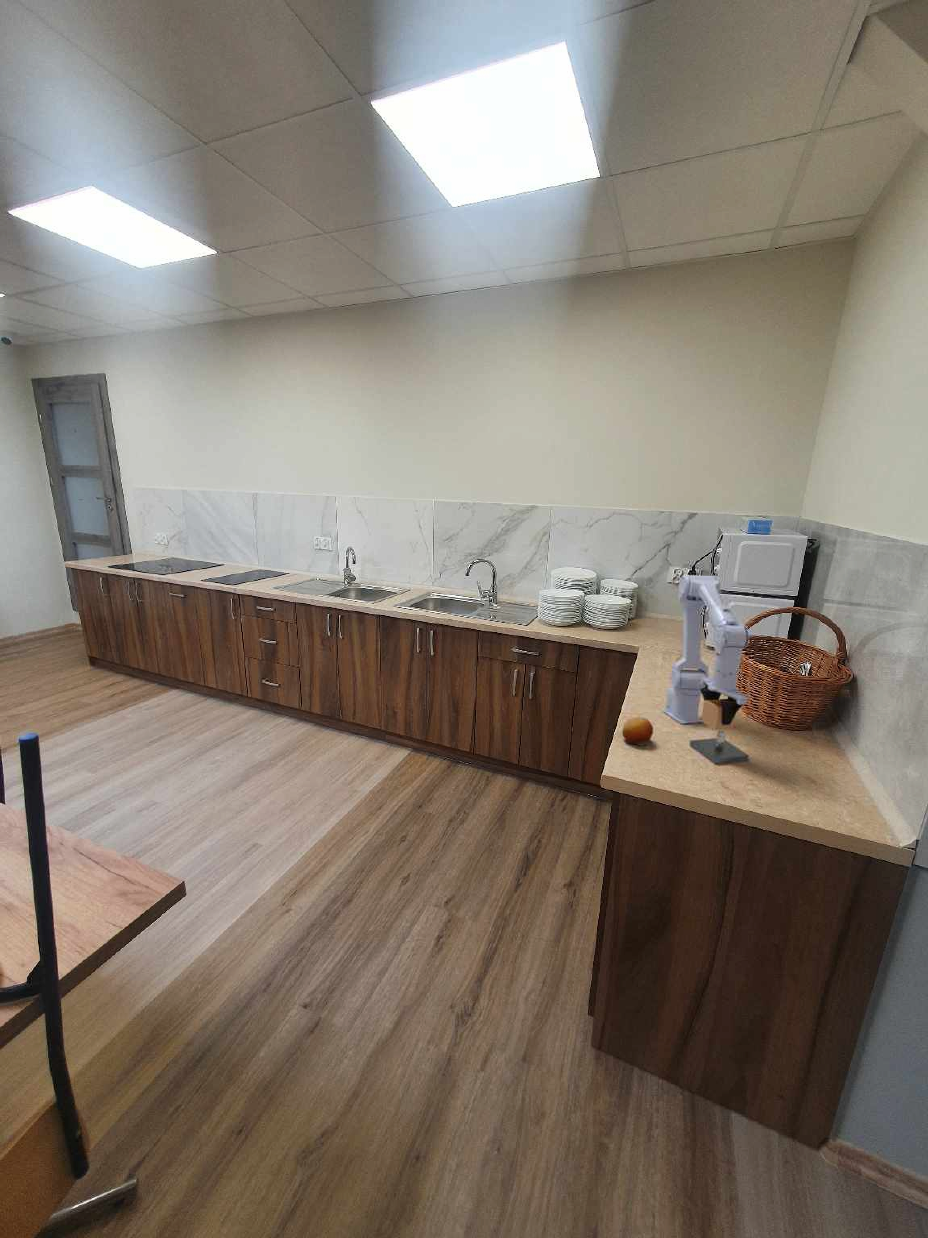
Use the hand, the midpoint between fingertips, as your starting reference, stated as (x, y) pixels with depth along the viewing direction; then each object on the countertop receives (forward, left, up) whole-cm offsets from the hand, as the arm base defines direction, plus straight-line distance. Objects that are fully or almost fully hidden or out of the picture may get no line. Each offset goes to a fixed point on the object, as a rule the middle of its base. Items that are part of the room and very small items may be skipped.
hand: (718, 719), depth 134 cm
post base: (+1, +1, -9) cm, 9 cm away
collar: (0, 0, -2) cm, 2 cm away
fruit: (-9, -17, -10) cm, 22 cm away
